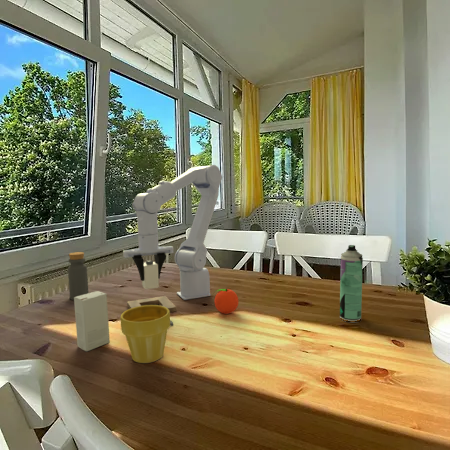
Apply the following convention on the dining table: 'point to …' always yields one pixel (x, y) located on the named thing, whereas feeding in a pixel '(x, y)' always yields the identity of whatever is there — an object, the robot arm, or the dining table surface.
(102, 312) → the skincare box
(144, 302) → the holder
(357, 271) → the spray can
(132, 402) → the dining table surface
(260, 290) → the dining table surface
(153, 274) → the plug
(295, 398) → the dining table surface
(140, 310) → the plant pot
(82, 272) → the bottle
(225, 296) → the clementine
